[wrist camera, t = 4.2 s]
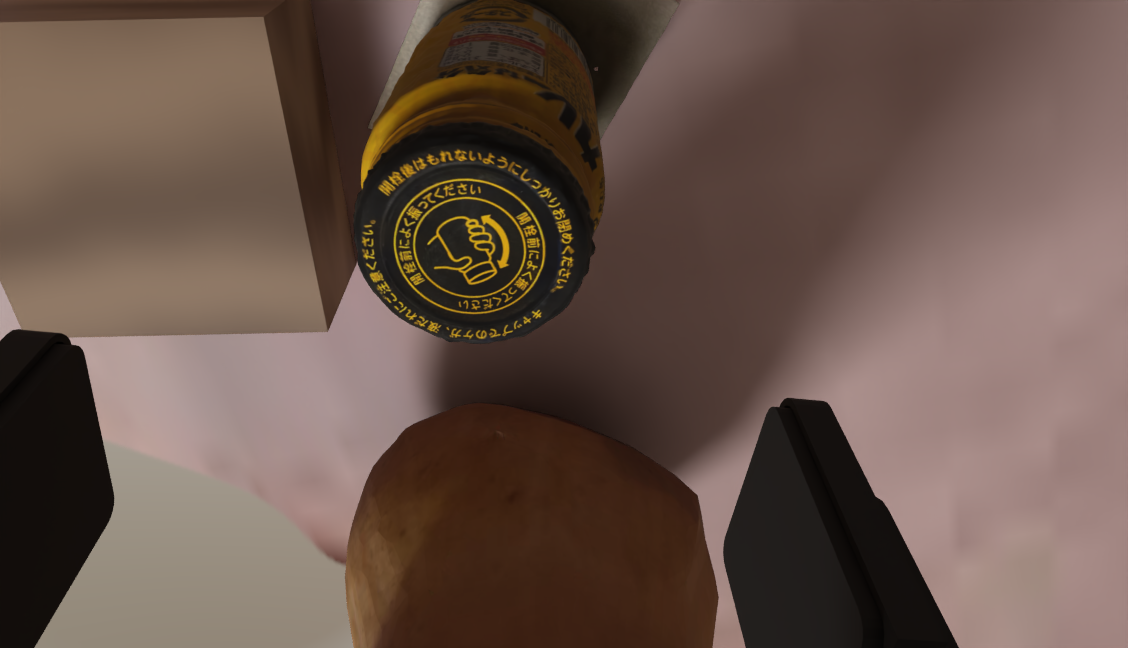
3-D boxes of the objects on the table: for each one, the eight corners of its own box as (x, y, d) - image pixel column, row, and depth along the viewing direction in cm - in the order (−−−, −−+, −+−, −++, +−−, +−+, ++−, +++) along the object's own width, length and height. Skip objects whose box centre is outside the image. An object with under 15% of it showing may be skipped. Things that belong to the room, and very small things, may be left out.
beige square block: (-7, -12, 26) (-114, 24, 22) (309, -18, 26) (263, 17, 22) (96, 266, 31) (25, 338, 27) (357, 260, 31) (328, 331, 27)
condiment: (369, 125, 28) (267, 306, 18) (470, -120, 24) (413, -63, 14) (555, 215, 30) (557, 424, 20) (678, 1, 26) (758, 127, 16)
